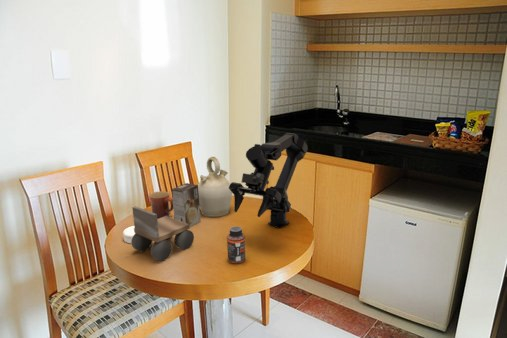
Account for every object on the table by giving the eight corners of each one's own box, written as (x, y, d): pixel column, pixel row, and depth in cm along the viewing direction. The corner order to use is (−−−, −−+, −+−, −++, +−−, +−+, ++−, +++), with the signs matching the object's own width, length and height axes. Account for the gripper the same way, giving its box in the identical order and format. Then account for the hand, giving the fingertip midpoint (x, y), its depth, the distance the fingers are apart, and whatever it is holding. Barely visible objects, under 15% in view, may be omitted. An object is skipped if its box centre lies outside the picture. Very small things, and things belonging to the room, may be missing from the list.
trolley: (170, 235, 150) (167, 194, 145) (194, 245, 141) (191, 201, 137) (132, 252, 137) (127, 208, 132) (156, 264, 129) (151, 217, 124)
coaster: (124, 234, 152) (123, 226, 151) (150, 231, 154) (150, 223, 153) (123, 245, 143) (121, 237, 142) (151, 242, 145) (150, 233, 144)
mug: (146, 218, 166) (144, 196, 163) (161, 211, 173) (159, 190, 170) (167, 224, 160) (164, 200, 157) (181, 217, 167) (179, 194, 164)
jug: (225, 203, 182) (223, 151, 175) (238, 214, 168) (235, 158, 161) (193, 208, 176) (190, 155, 169) (203, 221, 162) (200, 163, 155)
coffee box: (189, 218, 165) (186, 182, 161) (201, 221, 162) (198, 184, 158) (174, 226, 158) (171, 188, 154) (186, 229, 155) (183, 191, 150)
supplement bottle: (243, 265, 127) (242, 233, 124) (225, 263, 128) (224, 232, 125) (247, 256, 133) (246, 225, 130) (230, 254, 134) (229, 224, 131)
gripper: (230, 160, 138) (213, 199, 132) (277, 166, 129) (262, 209, 123) (242, 175, 147) (227, 213, 141) (287, 182, 138) (273, 222, 132)
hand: (246, 214), depth 134 cm, fingers open, 9 cm apart
